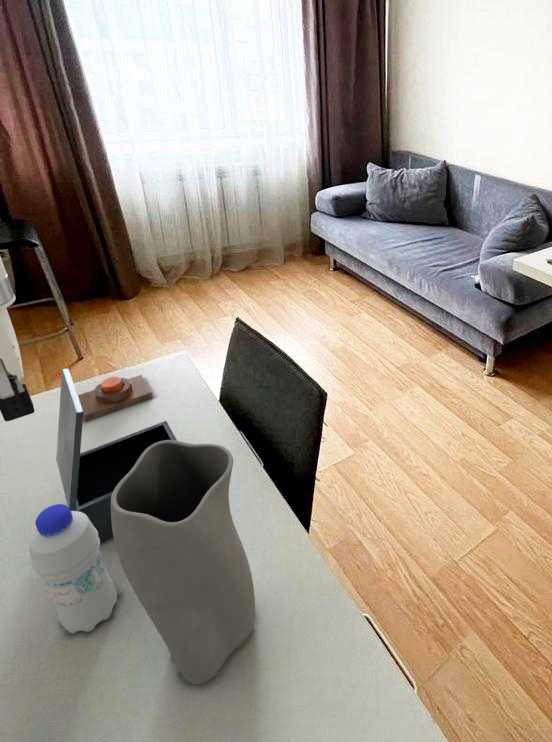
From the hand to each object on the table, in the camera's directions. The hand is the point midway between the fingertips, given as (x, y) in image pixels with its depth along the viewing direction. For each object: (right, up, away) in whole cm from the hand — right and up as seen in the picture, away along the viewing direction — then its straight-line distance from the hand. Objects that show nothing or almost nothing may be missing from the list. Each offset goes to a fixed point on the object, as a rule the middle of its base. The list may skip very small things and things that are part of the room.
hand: (19, 414), depth 68 cm
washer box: (+6, -19, +16) cm, 26 cm away
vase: (+28, -30, -2) cm, 41 cm away
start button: (-12, -5, +36) cm, 39 cm away
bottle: (+10, -28, 0) cm, 29 cm away
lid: (+3, -5, +6) cm, 8 cm away
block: (-12, -8, +38) cm, 41 cm away
